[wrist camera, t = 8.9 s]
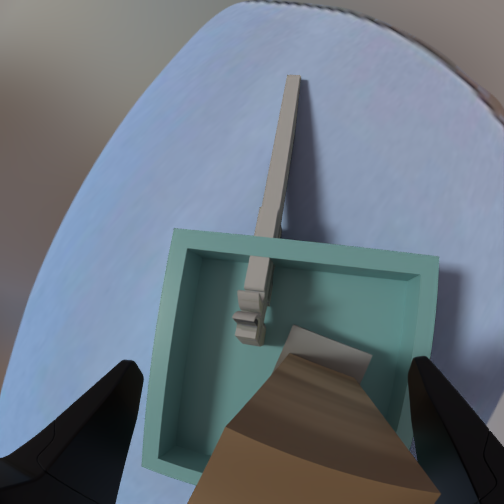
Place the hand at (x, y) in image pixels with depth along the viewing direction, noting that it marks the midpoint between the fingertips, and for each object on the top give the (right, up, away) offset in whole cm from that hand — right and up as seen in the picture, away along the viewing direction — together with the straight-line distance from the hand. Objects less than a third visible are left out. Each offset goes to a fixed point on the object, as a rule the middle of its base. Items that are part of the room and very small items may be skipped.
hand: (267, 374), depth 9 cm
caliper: (+2, +8, +12) cm, 15 cm away
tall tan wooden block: (+3, -4, +7) cm, 8 cm away
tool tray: (+2, -3, +8) cm, 9 cm away
